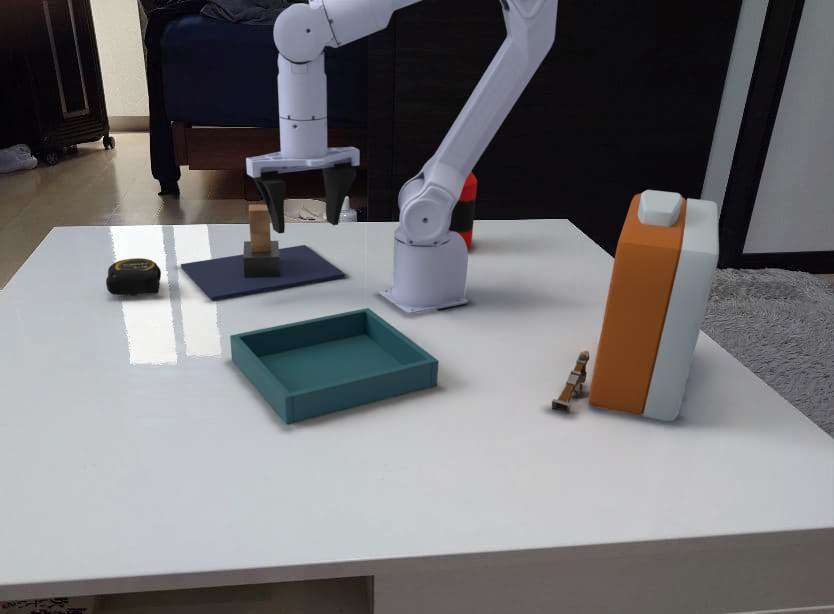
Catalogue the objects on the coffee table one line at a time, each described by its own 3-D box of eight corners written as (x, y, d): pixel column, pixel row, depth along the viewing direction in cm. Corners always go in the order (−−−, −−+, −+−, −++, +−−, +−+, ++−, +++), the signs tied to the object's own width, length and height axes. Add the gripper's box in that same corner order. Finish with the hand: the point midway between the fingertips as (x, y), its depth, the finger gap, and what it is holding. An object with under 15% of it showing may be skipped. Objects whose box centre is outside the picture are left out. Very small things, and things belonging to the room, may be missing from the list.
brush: (278, 259, 116) (276, 200, 111) (280, 276, 110) (277, 214, 105) (245, 260, 115) (241, 200, 110) (244, 277, 109) (240, 215, 104)
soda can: (417, 240, 126) (422, 165, 120) (461, 237, 128) (467, 163, 122) (432, 255, 120) (437, 177, 114) (478, 252, 122) (485, 175, 116)
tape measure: (107, 302, 102) (103, 275, 100) (115, 282, 108) (111, 257, 106) (160, 300, 103) (156, 273, 101) (164, 281, 109) (161, 255, 107)
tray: (367, 333, 95) (368, 307, 93) (436, 389, 83) (438, 360, 82) (231, 363, 88) (229, 335, 86) (286, 428, 76) (285, 397, 74)
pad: (304, 248, 122) (304, 244, 122) (345, 277, 111) (345, 273, 111) (181, 267, 114) (180, 263, 113) (211, 301, 103) (211, 297, 103)
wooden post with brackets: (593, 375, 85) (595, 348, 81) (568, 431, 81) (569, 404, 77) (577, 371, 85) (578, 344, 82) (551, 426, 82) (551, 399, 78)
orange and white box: (605, 340, 95) (638, 170, 84) (681, 352, 92) (724, 178, 82) (585, 411, 80) (622, 215, 70) (675, 428, 77) (727, 227, 67)
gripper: (259, 127, 87) (265, 244, 94) (372, 117, 93) (370, 227, 100) (237, 116, 92) (244, 228, 99) (344, 107, 98) (344, 213, 105)
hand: (306, 227), depth 100 cm, fingers open, 7 cm apart
